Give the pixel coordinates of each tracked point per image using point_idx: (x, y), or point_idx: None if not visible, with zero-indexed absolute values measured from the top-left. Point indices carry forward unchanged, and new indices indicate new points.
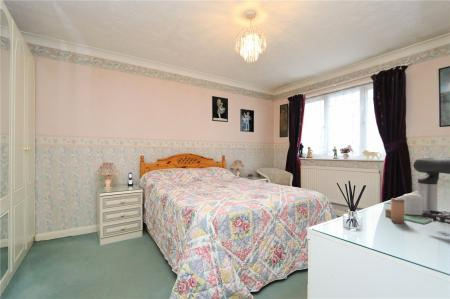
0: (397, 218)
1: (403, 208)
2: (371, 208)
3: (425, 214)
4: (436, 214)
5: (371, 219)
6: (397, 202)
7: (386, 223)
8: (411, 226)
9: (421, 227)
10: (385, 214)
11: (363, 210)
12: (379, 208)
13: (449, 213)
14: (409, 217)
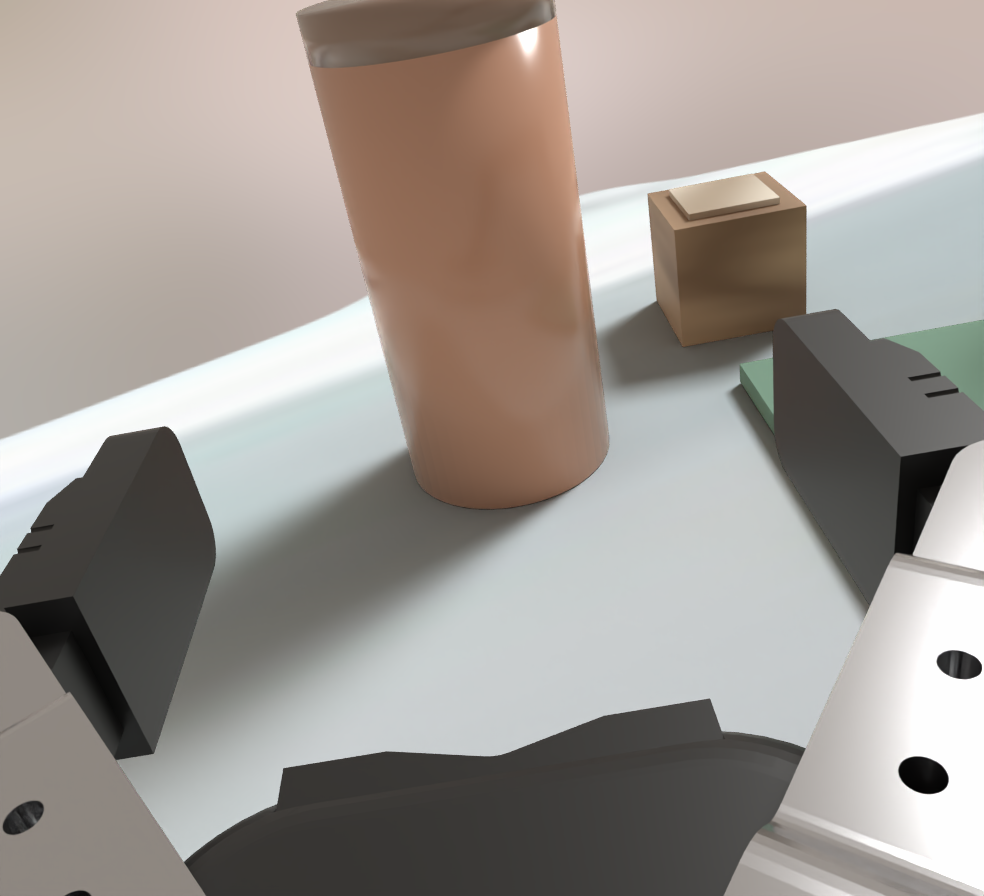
0: (399, 408)
1: (437, 214)
2: (829, 154)
3: (43, 531)
4: (7, 685)
5: (283, 362)
6: (317, 73)
7: (240, 470)
8: (432, 626)
9: (564, 710)
10: (655, 275)
11: (628, 193)
12: (953, 149)
13: (750, 861)
14: (963, 358)
